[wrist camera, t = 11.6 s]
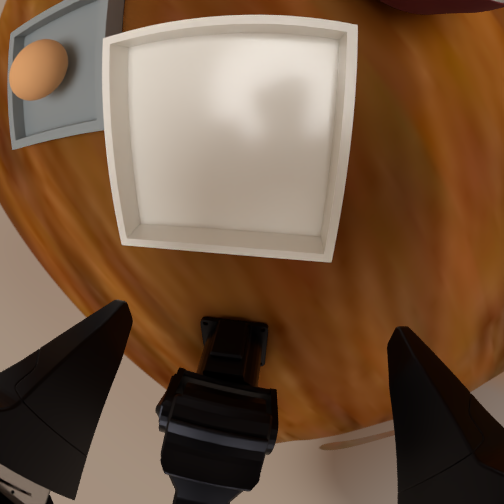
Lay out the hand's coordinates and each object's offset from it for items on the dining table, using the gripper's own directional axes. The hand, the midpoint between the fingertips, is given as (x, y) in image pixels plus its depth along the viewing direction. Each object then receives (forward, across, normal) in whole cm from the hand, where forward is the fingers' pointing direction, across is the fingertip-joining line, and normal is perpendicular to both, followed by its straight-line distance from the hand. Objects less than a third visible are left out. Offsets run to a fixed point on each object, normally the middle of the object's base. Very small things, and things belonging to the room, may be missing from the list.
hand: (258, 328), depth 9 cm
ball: (+10, +17, -11) cm, 23 cm away
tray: (+13, +18, -11) cm, 24 cm away
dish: (+13, +4, -4) cm, 14 cm away
